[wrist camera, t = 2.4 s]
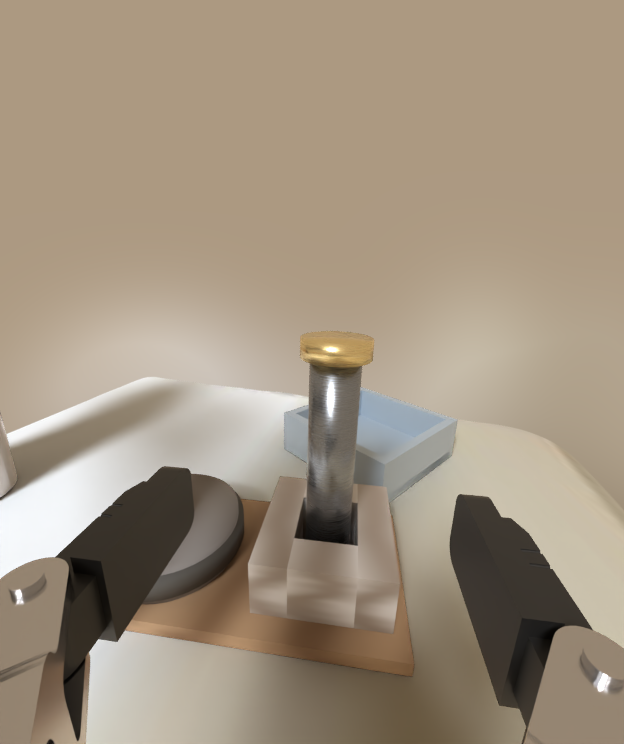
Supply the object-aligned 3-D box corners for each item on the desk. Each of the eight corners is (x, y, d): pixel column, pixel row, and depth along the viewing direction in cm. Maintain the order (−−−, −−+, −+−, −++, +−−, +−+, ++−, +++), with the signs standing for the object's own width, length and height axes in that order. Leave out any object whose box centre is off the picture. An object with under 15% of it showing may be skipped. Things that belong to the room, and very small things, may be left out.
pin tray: (284, 448, 43) (284, 412, 41) (359, 416, 53) (361, 387, 51) (380, 509, 32) (384, 464, 31) (451, 455, 42) (457, 419, 41)
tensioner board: (49, 618, 22) (31, 554, 20) (154, 498, 33) (148, 451, 31) (412, 676, 19) (423, 608, 17) (391, 524, 30) (396, 475, 29)
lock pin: (284, 560, 25) (285, 336, 20) (326, 532, 28) (335, 329, 23) (326, 602, 22) (339, 349, 17) (367, 565, 25) (389, 339, 20)
